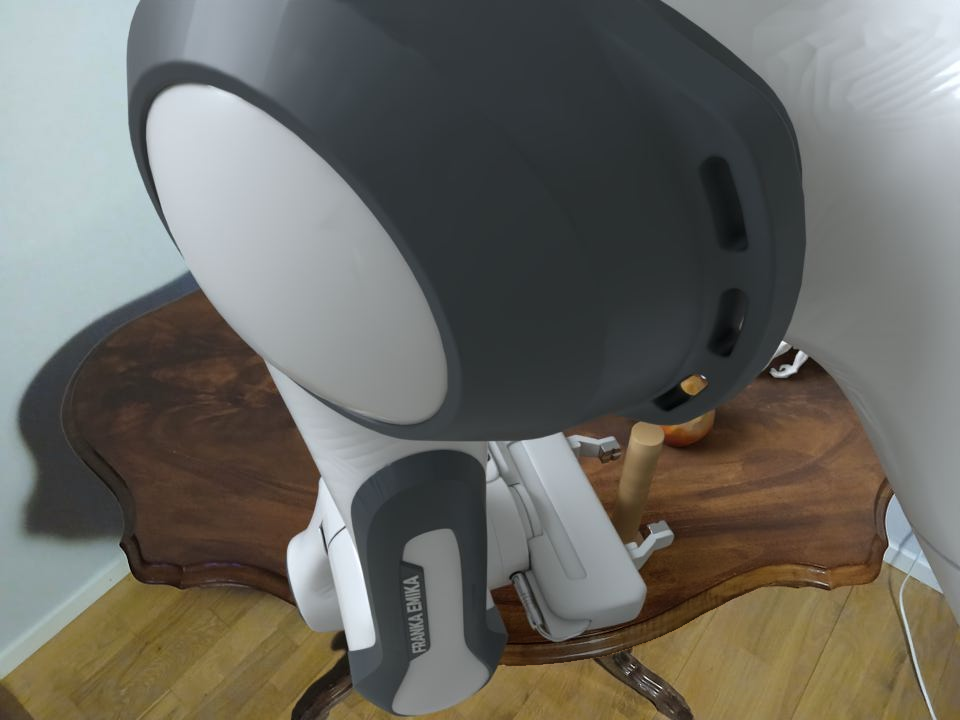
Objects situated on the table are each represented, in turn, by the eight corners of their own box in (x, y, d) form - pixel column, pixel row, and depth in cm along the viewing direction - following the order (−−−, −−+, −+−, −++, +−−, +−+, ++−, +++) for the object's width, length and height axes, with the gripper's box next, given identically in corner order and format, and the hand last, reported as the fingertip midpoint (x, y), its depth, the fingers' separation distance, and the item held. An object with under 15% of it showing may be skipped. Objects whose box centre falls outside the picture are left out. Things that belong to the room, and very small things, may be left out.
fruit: (655, 375, 85) (696, 351, 78) (695, 432, 84) (740, 413, 77) (608, 408, 81) (647, 386, 74) (649, 468, 80) (692, 452, 73)
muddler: (639, 575, 68) (675, 461, 56) (590, 563, 69) (615, 448, 57) (645, 534, 71) (679, 417, 59) (598, 523, 72) (623, 406, 60)
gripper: (541, 628, 51) (714, 571, 54) (454, 418, 65) (596, 383, 68) (536, 667, 55) (697, 612, 58) (456, 462, 69) (589, 427, 72)
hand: (642, 487), depth 63 cm, fingers open, 8 cm apart
